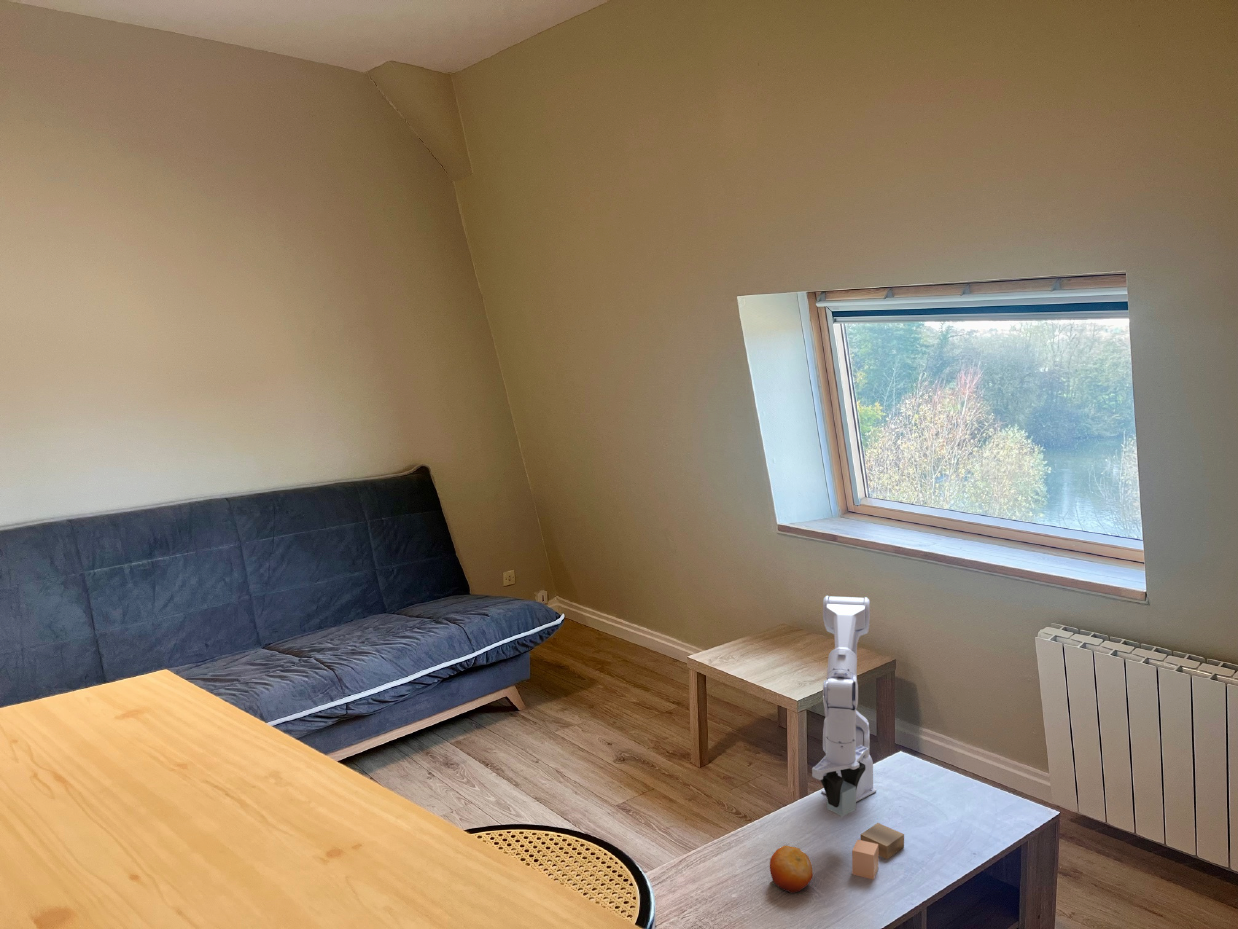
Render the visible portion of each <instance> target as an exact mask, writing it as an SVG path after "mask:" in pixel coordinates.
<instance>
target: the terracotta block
mask: <svg viewBox="0 0 1238 929" xmlns="http://www.w3.org/2000/svg"><path fill="white" fill-rule="evenodd" d="M851 852H852V854H851V856H852V857H851V858H852V859H851V860H852V861H851V869H852V870H851V873H852V874H851V875H853V876H857V877H860V878H865V879H868V880H873V881H874V879H875V877H876V875H877V873H878V871H879V857H880V856H879V844H875V843H871V842H866V841H862V840H861V839H856V842H855V844H854V846H853V848H852V851H851Z"/></svg>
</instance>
